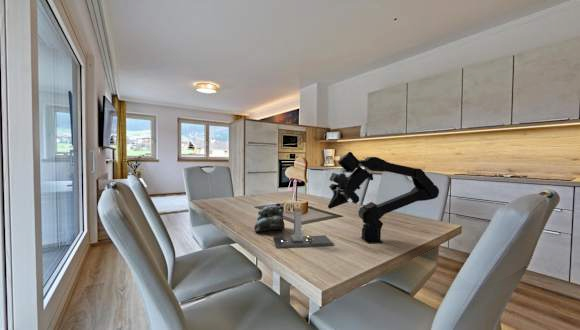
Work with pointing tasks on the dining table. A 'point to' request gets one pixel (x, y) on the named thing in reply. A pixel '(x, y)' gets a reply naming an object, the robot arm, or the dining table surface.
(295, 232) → the post
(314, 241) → the bolt plate
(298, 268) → the dining table surface
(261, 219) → the dark grey lumpy block
